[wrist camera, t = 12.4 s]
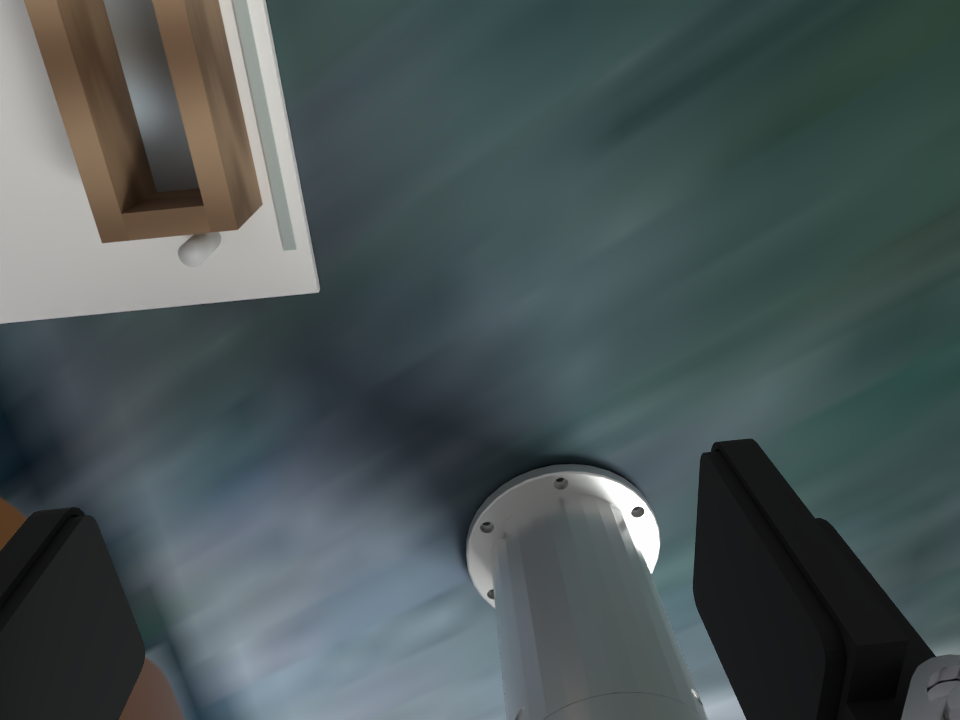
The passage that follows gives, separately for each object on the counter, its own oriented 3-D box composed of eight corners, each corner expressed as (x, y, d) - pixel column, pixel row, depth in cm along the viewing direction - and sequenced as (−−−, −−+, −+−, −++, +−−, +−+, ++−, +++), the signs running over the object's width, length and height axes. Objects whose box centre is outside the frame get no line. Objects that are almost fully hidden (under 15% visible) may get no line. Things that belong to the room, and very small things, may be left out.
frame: (262, 204, 36) (237, 230, 32) (144, 216, 36) (101, 243, 31) (191, -126, 30) (147, -153, 26) (48, -113, 30) (-21, -137, 25)
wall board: (320, 288, 39) (309, 312, 35) (-31, 323, 38) (-75, 350, 35) (224, -216, 29) (198, -246, 26) (-242, -175, 29) (-327, -200, 26)
